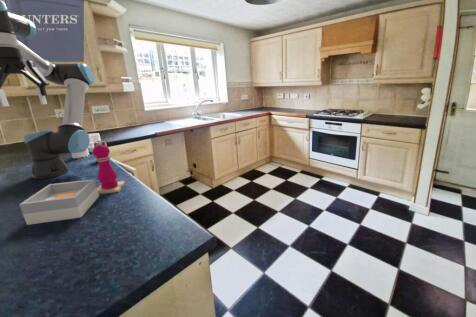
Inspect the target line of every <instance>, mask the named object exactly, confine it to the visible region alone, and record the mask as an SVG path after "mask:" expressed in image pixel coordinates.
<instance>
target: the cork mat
mask: <svg viewBox="0 0 476 317" xmlns="http://www.w3.org/2000/svg"><path fill="white" fill-rule="evenodd" d="M117 183H118V185H117V186H116V187H114V188H110V189H102V187H101V183H100V185H99V186H97V190H98V193H99V195H104V194H105V195H106V194H112V193H120V191H121V190H122V188H123V187H124V186H125V184H126V180H118V181H117Z"/></svg>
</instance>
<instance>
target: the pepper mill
mask: <svg viewBox="0 0 476 317" xmlns="http://www.w3.org/2000/svg"><path fill="white" fill-rule="evenodd" d="M97 145H98V146H96V147H95V148H94V149H93V152H92V155H93V156H94V157H95V161H96V162H97V163H98V172H97V180H98V182H99V183H100V184H101V187H102V189H110V188H114V187H116V186H117V185H118V183H117V178H118V174H117V172H116V170H115V169H114V168H113V167H112V165H111V163H110V159H111V156H110V152H111V151H110V148H109V147H108V145H107V146H105V145H102V143H101V142H97ZM109 157H110V158H109Z"/></svg>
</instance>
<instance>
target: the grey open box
mask: <svg viewBox="0 0 476 317" xmlns="http://www.w3.org/2000/svg"><path fill="white" fill-rule="evenodd" d="M97 188H98V186H97V183H96V179H94V178H93V179H86V180H75V181H68V182H67V181H65V182H59V183H58V182H57V183H49V184H48V185H46V186H45V187H43V188H41V189H40V190H39V191H37V192H36V193H34V194H32V195H31V196H29V197H28V198H26V199H25V200H24V201H22V202H21V203H19V205H18V206H19V208H20V210H21V213H22V216H23V218H24V221H25V222H26V223H25V224H26V225H27V226H30V225H34V224H35V225H36V224H42V223H50V222H57V221H58V222H59V221H65V220H71V219H78V218H82V217H83V216H84V214H85V213H86V212H87V211H88V210H89V209H90V207H92V206H93V204H94V203H95V202H96V201H97V199H98V198H99V197H100V194H99V193H98V190H97ZM69 193H77V194H76V195H74V196H73V197H66V198H58V199H54V198H55V197H56V196H58V195H61V194H69Z"/></svg>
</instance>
